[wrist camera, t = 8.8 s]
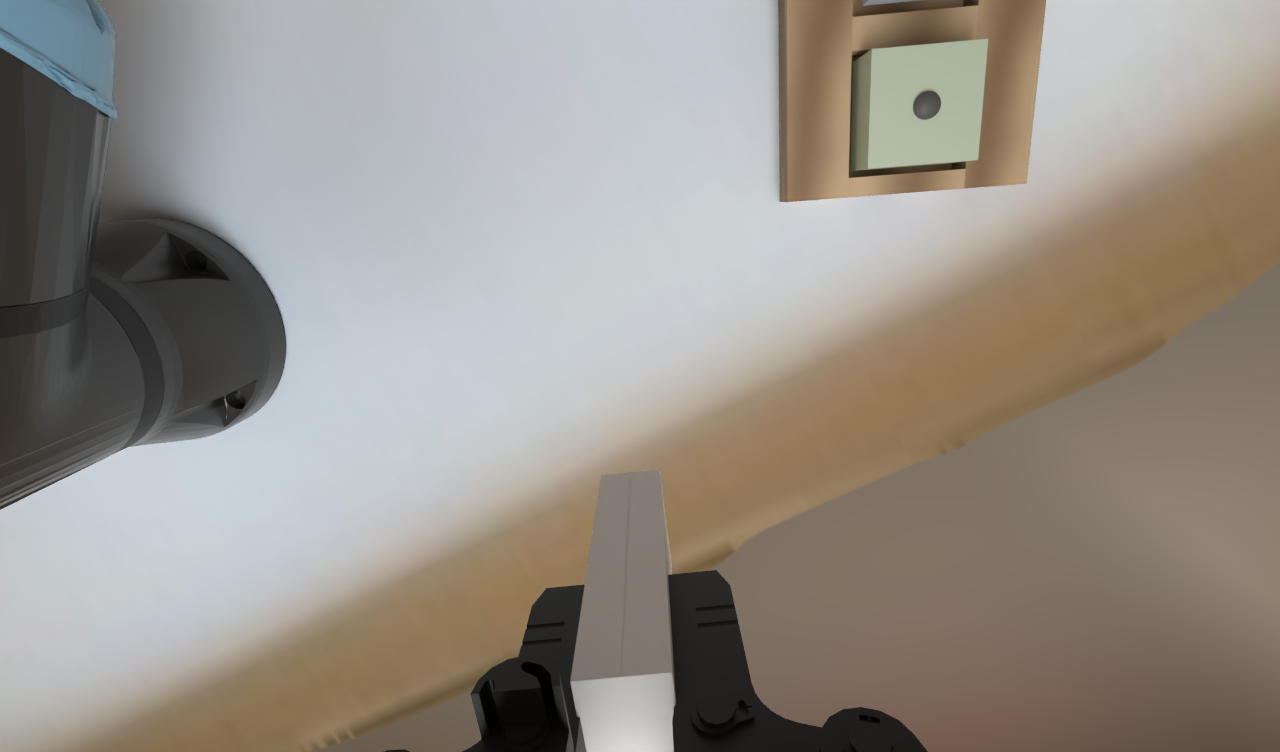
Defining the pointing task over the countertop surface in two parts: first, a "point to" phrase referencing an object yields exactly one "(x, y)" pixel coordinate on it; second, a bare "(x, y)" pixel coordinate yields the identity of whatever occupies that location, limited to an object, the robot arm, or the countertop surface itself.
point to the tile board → (846, 30)
